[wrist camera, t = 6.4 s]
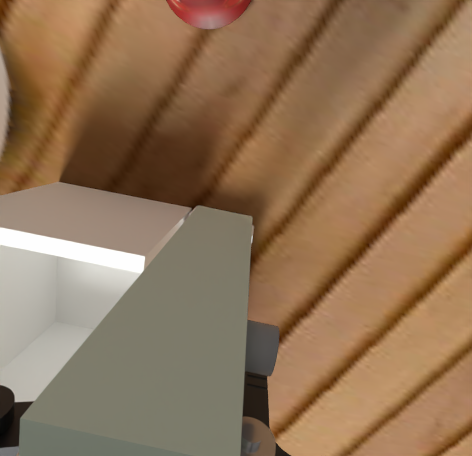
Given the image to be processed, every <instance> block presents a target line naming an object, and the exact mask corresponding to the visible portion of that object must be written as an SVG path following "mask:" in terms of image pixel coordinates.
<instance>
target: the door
mask: <svg viewBox="0 0 472 456" xmlns="http://www.w3.org/2000/svg"><path fill="white" fill-rule="evenodd" d="M251 237H252V217H251V216H246V215H242V214H237V213H232V212H228V211H223V210H218V209H214V208H209V207H205V206H200V205H198V206H197V207H196V209H195V210H194V211H193V212H192V213H191V215H190V216H189V217H188V218H187V219H186V221H185V222H184V223H183V224H182V225H181V227H180V228H179V229H178V230H177V231H176V232H175V234H174V235H173V236H172V237H171V238H170V240H169V241H168V242H167V243H166V244H165V246H164V247H163V248H162V249H161V250H160V252H159V253H158V254H157V255H156V256H155V258H154V259H153V260H152V261H151V262H150V264H149V265H148V266H147V267H146V268H145V270H144V271H143V272H142V273H141V274H140V276H139V277H138V278H137V279H136V280H135V282H134V283H133V284H132V285H131V286H130V287H129V289H128V290H127V291H126V292H125V293H124V295H123V296H122V297H121V298H120V299H119V301H118V302H117V303H116V304H115V305H114V307H113V308H112V309H111V310H110V311H109V313H108V314H107V315H106V316H105V317H104V319H103V320H102V321H101V322H100V323H99V325H98V326H97V327H96V328H95V329H94V331H93V332H92V333H91V334H90V335H89V336H88V338H87V339H86V340H85V341H84V342H83V344H82V345H81V346H80V347H79V348H78V350H77V351H76V352H75V353H74V354H73V356H72V357H71V358H70V359H69V360H68V362H67V363H66V364H65V365H64V366H63V368H62V369H61V370H60V371H59V372H58V374H57V375H56V376H55V377H54V378H53V380H52V381H51V382H50V383H49V384H48V385H47V387H46V388H45V389H44V390H43V391H42V393H41V394H40V395H39V396H38V397H37V399H36V400H35V401H34V402H33V403H32V405H31V406H30V407H29V408H28V409H27V411H26V412H25V413H24V414H23V415H22V417H21V418H20V435H19V456H240V453H241V433H242V413H243V394H244V374H245V371H247V372H251V373H256V374H261V375H265V376H271V374H272V372H273V370H274V366H275V362H276V358H277V352H278V344H279V328H278V326H274V325H269V324H264V323H260V322H255V321H250V320H247V315H248V296H249V276H250V257H251Z"/></svg>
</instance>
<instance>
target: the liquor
mask: <svg viewBox="0 0 472 456" xmlns="http://www.w3.org/2000/svg"><path fill="white" fill-rule="evenodd" d="M166 1H167V3H168V4H169V6H170V8H171V9H172V10H173V11H174V13H175V14H176V15H177V16H178V17H179V18H180V19H182V20H183V21H184V22H186V23H188V24H190V25H192V26H194V27H197V28H201V29H215V28H220V27H223V26H225V25H228V24H230V23H231V22H233V21H234V20H236V19H237V18H238V17H239V16H240V15H241V14H242V13H243V12H244V11H245V10H246V8H247V7H248V5H249V4H250V2H251V0H166Z"/></svg>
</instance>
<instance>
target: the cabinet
mask: <svg viewBox="0 0 472 456" xmlns="http://www.w3.org/2000/svg"><path fill="white" fill-rule="evenodd" d="M196 207H197V206H196ZM196 207H195V208H194V209H193V210H192V208H190V207H184V206H179V205H174V204H169V203H164V202H159V201H154V200H149V199H144V198H139V197H133V196H128V195H123V194H118V193H113V192H108V191H103V190H98V189H93V188H87V187H82V186H77V185H72V184H67V183H62V182H56V183H52V184H48V185H43V186H39V187H35V188H31V189H27V190H23V191H18V192H14V193H10V194H6V195H2V196H0V385H2V386H6V387H8V388H9V389H11V390H12V391H13V393H14V395H15V402H28V401H35V400H36V399H37V397H38V396H39V395H40V394H41V393H42V391H43V390H44V389H45V388H46V387H47V385H48V384H49V383H50V382H51V381H52V380H53V378H54V377H55V376H56V375H57V374H58V372H59V371H60V370H61V369H62V368H63V366H64V365H65V364H66V363H67V362H68V360H69V359H70V358H71V357H72V356H73V354H74V353H75V352H76V351H77V350H78V348H79V347H80V346H81V345H82V344H83V342H84V341H85V340H86V339H87V338H88V336H89V335H90V334H91V333H92V332H93V331H94V329H95V328H96V327H97V326H98V325H99V323H100V322H101V321H102V320H103V319H104V317H105V316H106V315H107V314H108V313H109V311H110V310H111V309H112V308H113V307H114V305H115V304H116V303H117V302H118V301H119V299H120V298H121V297H122V296H123V295H124V293H125V292H126V291H127V290H128V289H129V287H130V286H131V285H132V284H133V283H134V282H135V280H136V279H137V278H138V277H139V276H140V274H141V273H142V272H143V271H144V270H145V268H146V267H147V266H148V265H149V264H150V262H151V261H152V260H153V259H154V258H155V256H156V255H157V254H158V253H159V252H160V250H161V249H162V248H163V247H164V246H165V244H166V243H167V242H168V241H169V240H170V238H171V237H172V236H173V235H174V234H175V232H176V231H177V230H178V229H179V228H180V227H181V225H182V224H183V223H184V222H185V221H186V219H187V218H188V217H189V216H190V215H191V213H192V212H193V211H194V210H195V209H196ZM232 213H233V212H232ZM237 214H238V213H237ZM242 215H243V214H242ZM246 216H248V215H246ZM253 232H254V226H252V237H251V243H252V239H253Z"/></svg>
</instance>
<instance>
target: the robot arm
mask: <svg viewBox="0 0 472 456" xmlns="http://www.w3.org/2000/svg"><path fill="white" fill-rule="evenodd" d="M267 388H268V385H267V376H265V375H261V374H256V373H251V372H247V371H245V374H244V394H243V413H242V433H241V453H240V456H291V455H289V454H287V453H286V452H285V451H283V450H282V449H281V448H280V447H279V446H278V444H277V443H276V442H275V438H274V435H273V433H272V432H271V430H270V427H269V408H268V390H267ZM33 402H34V401H28V402H15V395H14V393H13V391H12V390H11V389H9V388H8V387H6V386H2V385H0V456H19V435H20V418H21V417H22V415H23V414H24V413H25V412H26V411H27V409H28V408H29V407H30V406H31V405H32V403H33Z"/></svg>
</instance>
